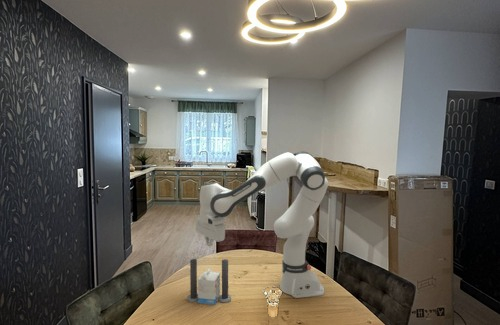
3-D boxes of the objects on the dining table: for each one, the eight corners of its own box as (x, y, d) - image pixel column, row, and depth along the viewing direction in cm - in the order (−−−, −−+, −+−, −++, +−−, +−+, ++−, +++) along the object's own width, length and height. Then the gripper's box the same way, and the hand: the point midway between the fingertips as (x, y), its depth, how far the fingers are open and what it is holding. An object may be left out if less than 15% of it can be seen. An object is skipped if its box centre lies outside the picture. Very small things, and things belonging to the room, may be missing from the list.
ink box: (214, 305, 125) (214, 277, 125) (197, 303, 127) (197, 275, 126) (220, 295, 134) (220, 269, 133) (204, 293, 136) (204, 267, 135)
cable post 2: (231, 296, 133) (231, 258, 132) (230, 303, 127) (230, 263, 126) (219, 295, 133) (219, 258, 132) (217, 302, 127) (217, 263, 126)
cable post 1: (201, 295, 134) (201, 257, 132) (198, 302, 128) (198, 263, 126) (188, 295, 134) (188, 257, 132) (185, 302, 128) (185, 263, 126)
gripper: (192, 213, 134) (192, 241, 135) (215, 222, 118) (215, 253, 119) (203, 211, 138) (203, 238, 139) (227, 220, 123) (227, 250, 123)
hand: (209, 245), depth 129 cm, fingers closed
